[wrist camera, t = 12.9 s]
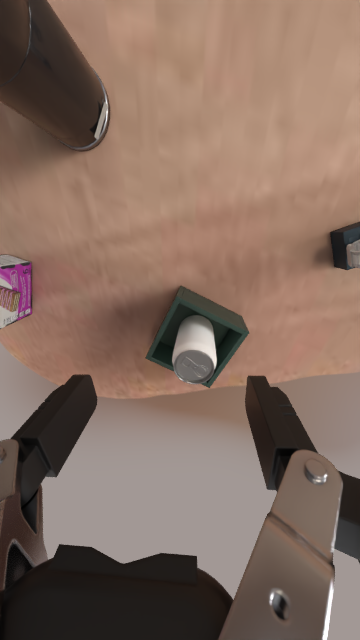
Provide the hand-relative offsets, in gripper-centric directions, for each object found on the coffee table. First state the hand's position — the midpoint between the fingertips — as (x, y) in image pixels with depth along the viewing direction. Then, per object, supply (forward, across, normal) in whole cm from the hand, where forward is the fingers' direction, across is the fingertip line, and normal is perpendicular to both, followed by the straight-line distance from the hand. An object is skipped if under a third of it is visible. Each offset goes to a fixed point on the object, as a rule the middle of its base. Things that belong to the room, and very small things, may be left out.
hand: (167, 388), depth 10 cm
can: (+27, -1, +10) cm, 29 cm away
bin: (+28, -1, +10) cm, 30 cm away
